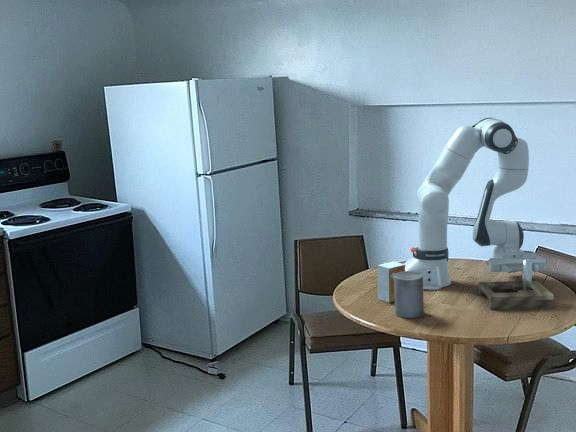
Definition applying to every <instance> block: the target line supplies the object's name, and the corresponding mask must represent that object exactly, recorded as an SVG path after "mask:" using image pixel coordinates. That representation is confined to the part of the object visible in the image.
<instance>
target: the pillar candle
mask: <svg viewBox="0 0 576 432" xmlns="http://www.w3.org/2000/svg"><path fill="white" fill-rule="evenodd" d="M394 292H395V301H394V315H396V316H397V317H399V316H400V317H399V318H402V317H404V318H406V319H416V318H420V317H422V316H423V315H424V313H425V310H424V309H425V307H424V289H423V275H422V274H421V273H419V272H413V271H404V272H399V273H396V274H395V275H394Z"/></svg>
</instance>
